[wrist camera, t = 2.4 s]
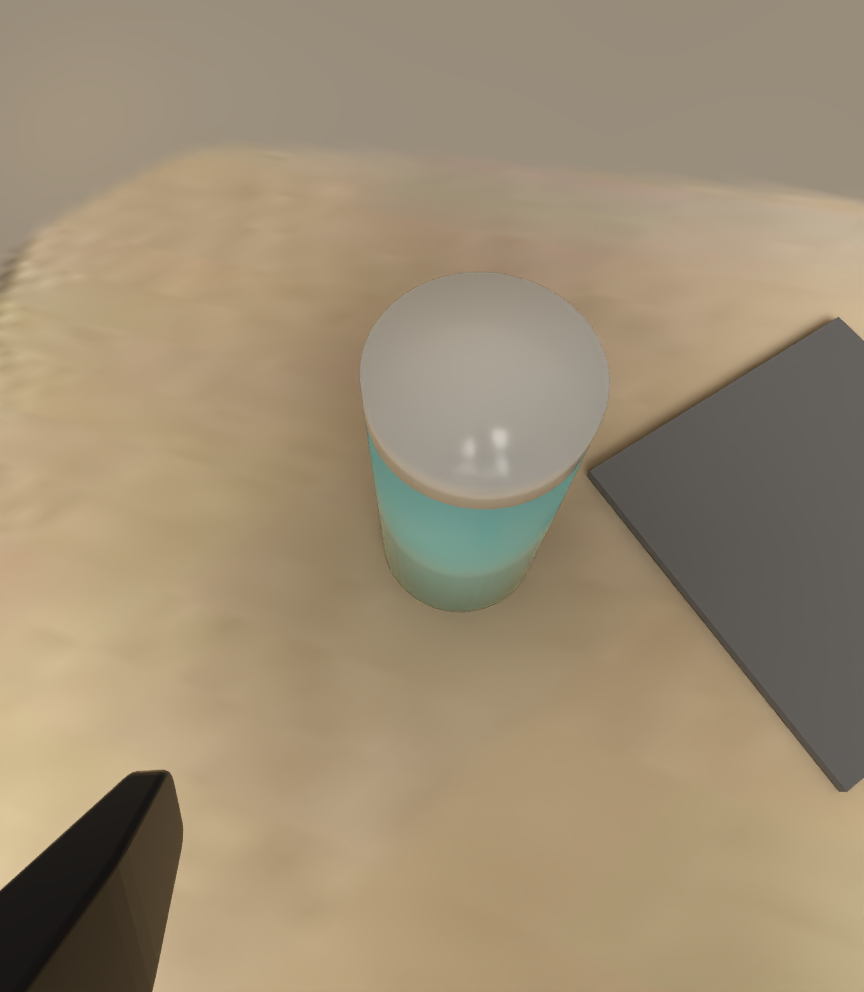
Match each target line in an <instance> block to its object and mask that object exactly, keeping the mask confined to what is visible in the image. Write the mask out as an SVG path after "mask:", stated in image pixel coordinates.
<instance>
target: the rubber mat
mask: <svg viewBox="0 0 864 992" xmlns="http://www.w3.org/2000/svg"><path fill="white" fill-rule="evenodd" d="M587 476H588V478H589V479H590V480H591V481H592V483H593V484H594V485H595V486H596V488H597V489H598V490H599V491H600V493H601V494H602V495H603V496H604V498H605V499H606V500H607V501H608V503H609V504H610V505H611V506H612V508H613V509H614V510H615V511H616V513H617V514H618V515H619V516H620V518H621V519H622V520H623V521H624V523H625V524H626V525H627V526H628V528H629V529H630V530H631V531H632V533H633V534H634V535H635V536H636V538H637V539H638V540H639V541H640V543H641V544H642V545H643V546H644V548H645V549H646V550H647V551H648V553H649V554H650V555H651V556H652V558H653V559H654V560H655V561H656V563H657V564H658V565H659V566H660V568H661V569H662V570H663V572H664V573H665V574H666V575H667V577H668V578H669V579H670V580H671V582H672V583H673V584H674V585H675V587H676V588H677V589H678V590H679V592H680V593H681V594H682V595H683V597H684V598H685V599H686V600H687V602H688V603H689V604H690V605H691V607H692V608H693V609H694V610H695V612H696V613H697V614H698V615H699V617H700V618H701V619H702V620H703V622H704V623H705V624H706V625H707V627H708V628H709V629H710V630H711V632H712V633H713V634H714V635H715V637H716V638H717V639H718V640H719V642H720V643H721V644H722V645H723V647H724V648H725V649H726V650H727V652H728V653H729V654H730V655H731V657H732V658H733V659H734V660H735V662H736V663H737V664H738V665H739V667H740V668H741V669H742V670H743V672H744V673H745V674H746V675H747V677H748V678H749V679H750V680H751V682H752V683H753V684H754V685H755V687H756V688H757V689H758V691H759V692H760V693H761V694H762V696H763V697H764V698H765V699H766V701H767V702H768V703H769V704H770V706H771V707H772V708H773V709H774V711H775V712H776V713H777V714H778V716H779V717H780V718H781V719H782V721H783V722H784V723H785V724H786V726H787V727H788V728H789V729H790V731H791V732H792V733H793V734H794V736H795V737H796V738H797V739H798V741H799V742H800V743H801V744H802V746H803V747H804V748H805V749H806V751H807V752H808V753H809V754H810V756H811V757H812V758H813V759H814V761H815V762H816V763H817V764H818V766H819V767H820V768H821V769H822V771H823V772H824V773H825V774H826V776H827V777H828V778H829V779H830V781H831V782H832V783H833V784H834V786H835V787H836V788H837V789H838V791H839V792H847V791H848V790H850V789H851V788H852V787H853V786H854V785H855V784H857V783H858V782H859V781H860V780H861V779H863V778H864V341H863V340H862V339H861V338H860V337H859V336H858V335H857V334H856V333H855V332H854V331H853V330H852V329H851V328H850V327H849V326H848V325H847V324H846V323H845V322H844V321H842V320H841V319H840V318H839V317H837V318H836V319H834V320H832V321H831V322H829V323H828V324H826V325H824V326H823V327H821V328H820V329H818V330H816V331H815V332H813V333H811V334H810V335H808V336H807V337H805V338H803V339H802V340H800V341H799V342H797V343H795V344H794V345H792V346H790V347H789V348H787V349H786V350H784V351H782V352H781V353H779V354H777V355H776V356H774V357H773V358H771V359H769V360H768V361H766V362H765V363H763V364H761V365H760V366H758V367H756V368H755V369H753V370H752V371H750V372H748V373H747V374H745V375H744V376H742V377H740V378H739V379H737V380H735V381H734V382H732V383H731V384H729V385H727V386H726V387H724V388H723V389H721V390H719V391H718V392H716V393H714V394H713V395H711V396H710V397H708V398H706V399H705V400H703V401H702V402H700V403H698V404H697V405H695V406H693V407H692V408H690V409H689V410H687V411H685V412H684V413H682V414H680V415H679V416H677V417H676V418H674V419H672V420H671V421H669V422H668V423H666V424H664V425H663V426H661V427H659V428H658V429H656V430H655V431H653V432H651V433H650V434H648V435H647V436H645V437H643V438H642V439H640V440H638V441H637V442H635V443H634V444H632V445H630V446H629V447H627V448H626V449H624V450H622V451H621V452H619V453H617V454H616V455H614V456H613V457H611V458H609V459H608V460H606V461H604V462H603V463H601V464H600V465H598V466H596V467H595V468H593V469H592V470H590V471H589V473H588V475H587Z"/></svg>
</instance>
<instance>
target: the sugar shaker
mask: <svg viewBox="0 0 864 992" xmlns="http://www.w3.org/2000/svg"><path fill="white" fill-rule="evenodd" d="M360 384H361V393H362V400H363V407H364V414H365V421H366V428H367V434H368V441H369V448H370V455H371V462H372V469H373V476H374V482H375V489H376V496H377V503H378V510H379V517H380V524H381V530H382V537H383V544H384V551H385V555H386V559H387V562H388V564H389V567H390V569H391V571H392V573H393V575H394V576H395V578H396V579H397V581H398V582H399V583H400V585H401V586H402V587H403V588H404V589H405V590H406V591H407V592H408V593H410V594H411V595H412V596H413V597H415V598H416V599H418V600H419V601H421V602H423V603H425V604H427V605H429V606H432V607H434V608H437V609H441V610H445V611H452V612H468V611H475V610H479V609H483V608H486V607H489V606H491V605H494V604H496V603H497V602H499V601H501V600H503V599H504V598H505V597H507V596H508V595H509V594H511V593H512V592H513V591H514V590H515V589H516V588H517V586H518V585H519V584H520V583H521V581H522V580H523V578H524V577H525V575H526V573H527V571H528V569H529V567H530V565H531V563H532V561H533V559H534V557H535V555H536V553H537V551H538V549H539V547H540V545H541V543H542V541H543V539H544V537H545V535H546V533H547V531H548V529H549V527H550V525H551V523H552V521H553V519H554V516H555V514H556V512H557V510H558V508H559V506H560V504H561V502H562V500H563V498H564V496H565V494H566V492H567V490H568V488H569V486H570V484H571V482H572V480H573V478H574V476H575V474H576V472H577V470H578V468H579V466H580V464H581V462H582V460H583V458H584V456H585V454H586V452H587V450H588V448H589V446H590V443H591V441H592V439H593V437H594V435H595V433H596V431H597V429H598V427H599V425H600V423H601V421H602V418H603V416H604V413H605V410H606V407H607V402H608V398H609V387H610V378H609V368H608V363H607V359H606V355H605V352H604V350H603V347H602V345H601V342H600V340H599V338H598V337H597V335H596V333H595V332H594V330H593V328H592V327H591V326H590V324H589V323H588V322H587V320H586V319H585V318H584V317H583V315H582V314H581V313H580V312H578V311H577V310H576V309H575V308H574V307H573V306H572V305H571V304H570V303H569V302H567V301H566V300H565V299H563V298H562V297H561V296H559V295H557V294H556V293H554V292H553V291H551V290H549V289H547V288H545V287H543V286H541V285H539V284H537V283H535V282H532V281H529V280H526V279H523V278H520V277H516V276H512V275H507V274H501V273H493V272H468V273H458V274H453V275H448V276H444V277H440V278H437V279H434V280H431V281H429V282H426V283H424V284H422V285H419V286H417V287H416V288H414V289H412V290H410V291H409V292H407V293H405V294H404V295H403V296H401V297H400V298H399V299H397V300H396V301H395V302H394V303H393V304H392V305H391V306H390V307H389V308H388V309H387V310H386V311H385V312H384V313H383V314H382V315H381V317H380V318H379V319H378V320H377V322H376V323H375V325H374V326H373V328H372V330H371V332H370V334H369V335H368V338H367V341H366V343H365V346H364V348H363V353H362V358H361V363H360Z"/></svg>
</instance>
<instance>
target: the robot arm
mask: <svg viewBox="0 0 864 992" xmlns="http://www.w3.org/2000/svg"><path fill="white" fill-rule="evenodd" d="M182 842H183V823H182V818H181V813H180V808H179V804H178V799H177V794H176V789H175V785H174V780H173V777H172V775H171V774H170V772H168V771H166V770H150V771H136V772H132V773H131V774H129V775H127V776H126V777H125V778H124V779H123V780H122V781H121V782H119V783H118V784H117V785H116V786H115V787H114V788H113V789H112V790H111V791H109V792H108V793H107V794H106V795H105V796H104V797H103V798H102V799H101V800H100V801H98V802H97V803H96V804H95V805H94V806H93V807H92V808H91V809H90V810H89V811H87V812H86V813H85V814H84V815H83V816H82V817H81V818H80V819H79V820H77V821H76V822H75V823H74V824H73V825H72V826H71V827H70V828H69V829H68V830H66V831H65V832H64V833H63V834H62V835H61V836H60V837H59V838H58V839H57V840H55V841H54V842H53V843H52V844H51V845H50V846H49V847H48V848H47V849H46V850H44V851H43V852H42V853H41V854H40V855H39V856H38V857H37V858H36V859H34V860H33V861H32V862H31V863H30V864H29V865H28V866H27V867H26V868H25V869H23V870H22V871H21V872H20V873H19V874H18V875H17V876H16V877H15V878H14V879H12V880H11V881H10V882H9V883H8V884H7V885H6V886H5V887H4V888H2V889H1V890H0V992H152V991H153V986H154V982H155V977H156V973H157V968H158V963H159V958H160V953H161V948H162V943H163V938H164V933H165V928H166V923H167V918H168V913H169V908H170V903H171V898H172V893H173V888H174V884H175V879H176V874H177V869H178V864H179V859H180V854H181V849H182Z"/></svg>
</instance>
